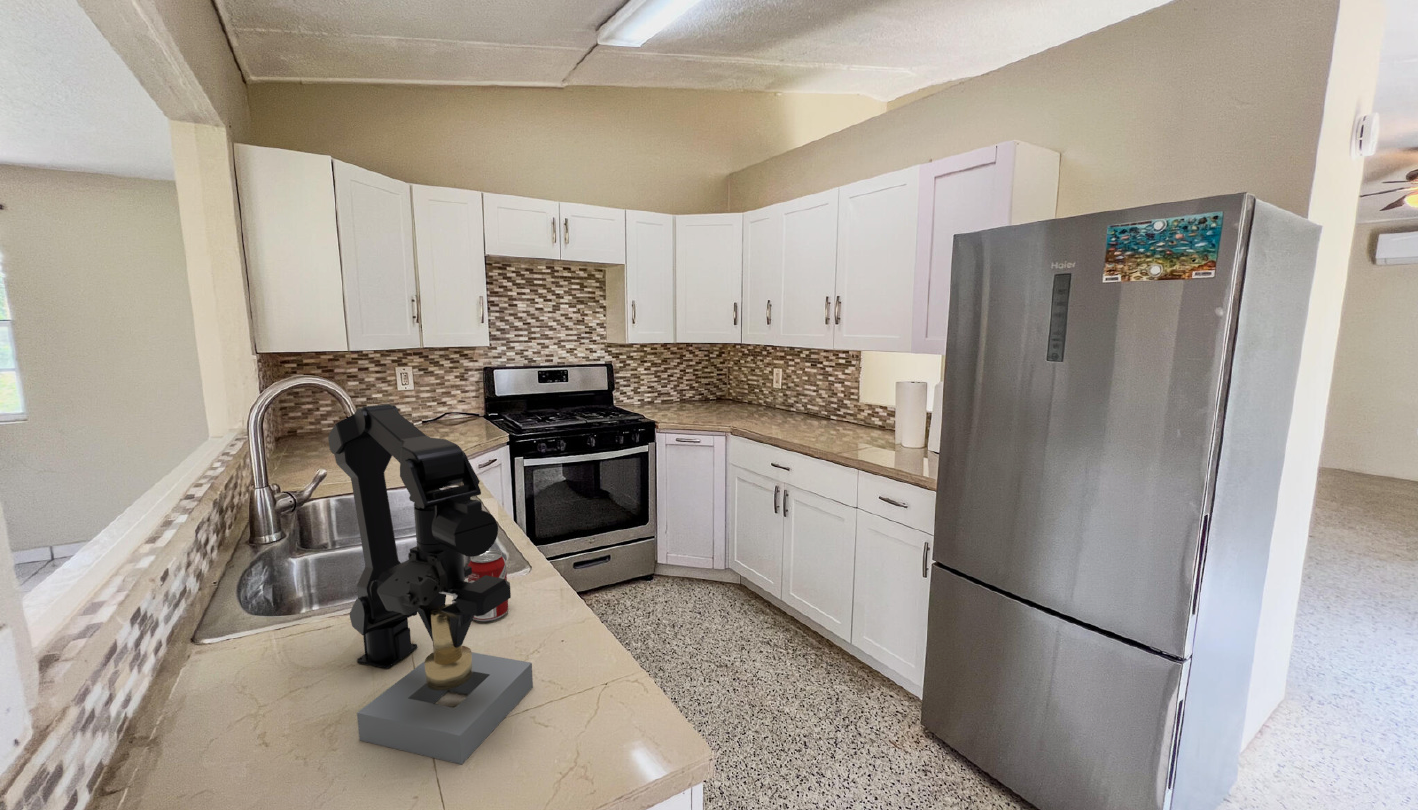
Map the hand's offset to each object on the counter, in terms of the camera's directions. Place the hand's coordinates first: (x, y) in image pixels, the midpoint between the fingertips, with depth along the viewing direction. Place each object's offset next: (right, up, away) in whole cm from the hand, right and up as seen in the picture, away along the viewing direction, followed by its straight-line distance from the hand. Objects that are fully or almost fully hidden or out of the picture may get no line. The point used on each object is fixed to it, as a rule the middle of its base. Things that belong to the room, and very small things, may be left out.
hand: (447, 643), depth 80 cm
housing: (0, -10, +2) cm, 10 cm away
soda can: (-5, -7, +29) cm, 30 cm away
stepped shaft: (0, -5, +1) cm, 5 cm away
